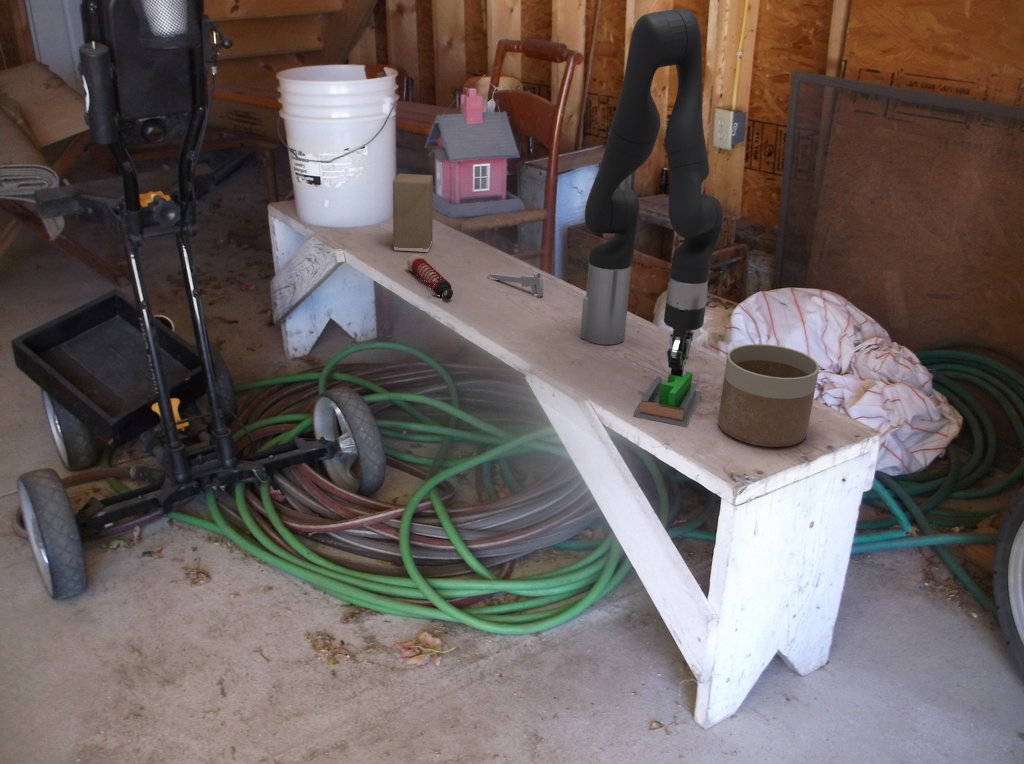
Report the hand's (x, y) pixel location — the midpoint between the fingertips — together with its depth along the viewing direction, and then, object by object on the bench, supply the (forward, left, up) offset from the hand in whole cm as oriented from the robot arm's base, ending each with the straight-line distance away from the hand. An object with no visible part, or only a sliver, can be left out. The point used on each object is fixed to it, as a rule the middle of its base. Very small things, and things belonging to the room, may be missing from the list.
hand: (675, 384), depth 187 cm
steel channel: (0, -8, -1) cm, 8 cm away
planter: (+18, -10, -2) cm, 21 cm away
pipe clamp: (+1, -7, -1) cm, 7 cm away
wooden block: (-90, +65, -2) cm, 111 cm away
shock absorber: (-71, +38, -2) cm, 81 cm away
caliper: (-51, +46, -2) cm, 69 cm away
